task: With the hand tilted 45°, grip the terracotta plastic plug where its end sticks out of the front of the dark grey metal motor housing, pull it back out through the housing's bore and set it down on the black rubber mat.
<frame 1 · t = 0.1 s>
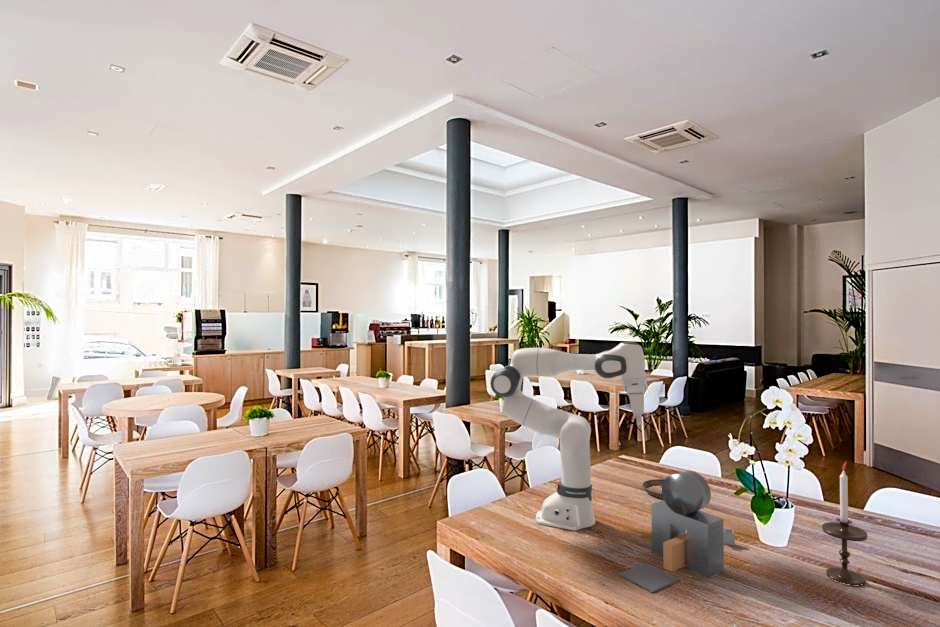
hand: (639, 422, 188), 39 cm above the table, tool pointing down, fingers open, 8 cm apart
mat: (648, 577, 152), on the table
plant saucer: (666, 493, 225), on the table
plug: (679, 564, 160), on the table
housing: (686, 561, 162), on the table
lighter: (723, 543, 175), on the table
candlestick: (844, 579, 151), on the table
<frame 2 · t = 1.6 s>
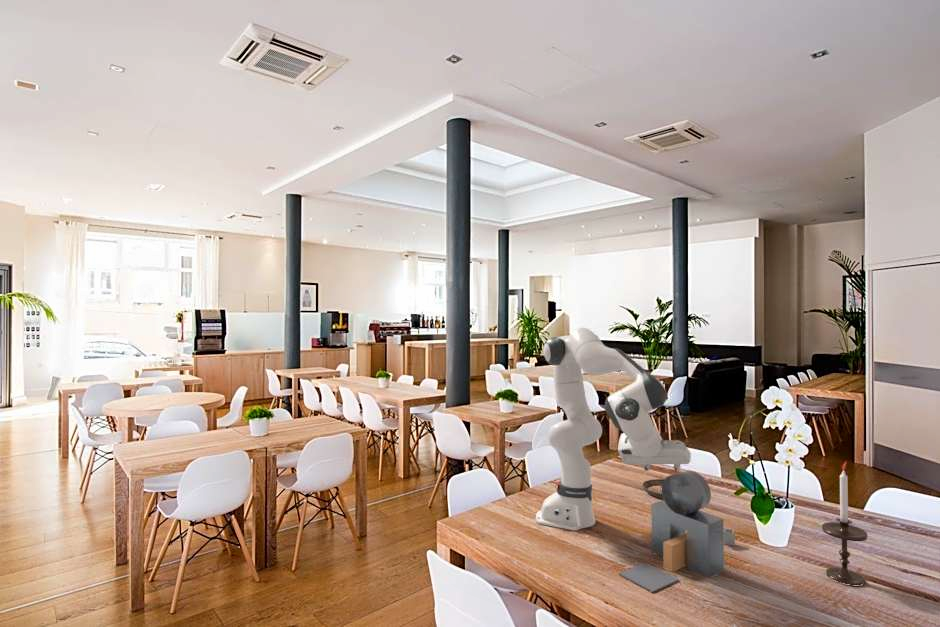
hand: (662, 468, 158), 31 cm above the table, tool tilted 45°, fingers open, 8 cm apart
nothing on the table moved.
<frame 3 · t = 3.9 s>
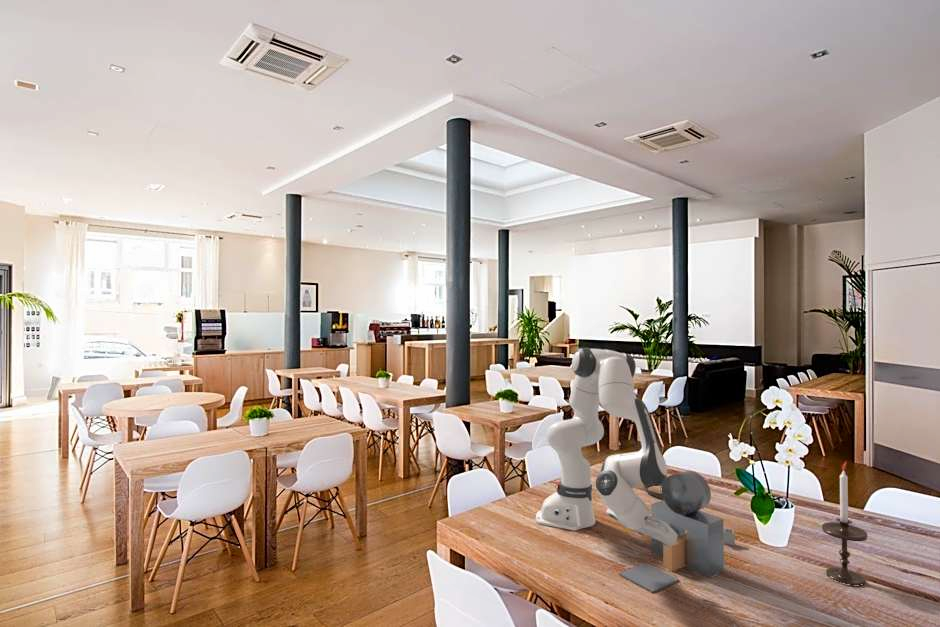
hand: (654, 538, 154), 11 cm above the table, tool tilted 45°, fingers open, 8 cm apart
nothing on the table moved.
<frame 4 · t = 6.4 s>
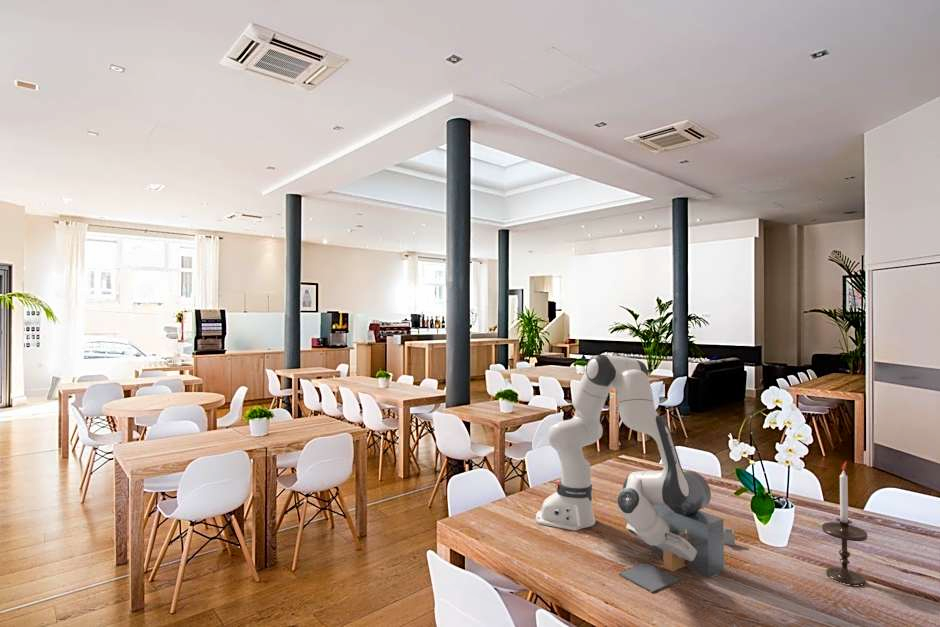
hand: (673, 553, 158), 4 cm above the table, tool tilted 45°, fingers closed on plug, 3 cm apart
plug: (679, 564, 160), on the table, touching gripper
everything else where it was.
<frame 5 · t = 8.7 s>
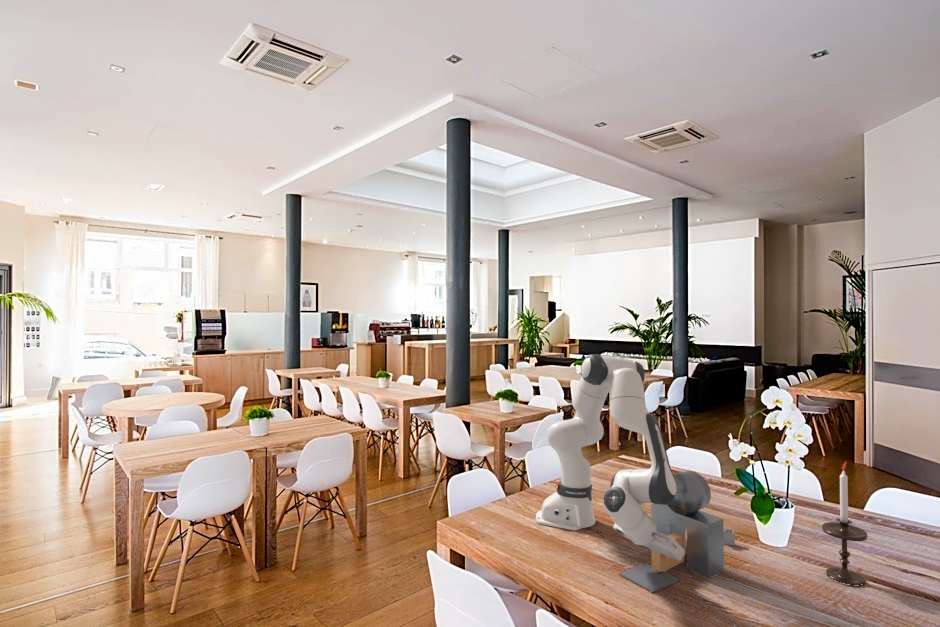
hand: (661, 552, 155), 6 cm above the table, tool tilted 45°, fingers closed on plug, 3 cm apart
plug: (668, 564, 157), point 2 cm above the table, touching gripper
everything else where it was.
when the fingers open (6 cm above the table, at t = 11.4 s): plug stays where it is, resting on mat.
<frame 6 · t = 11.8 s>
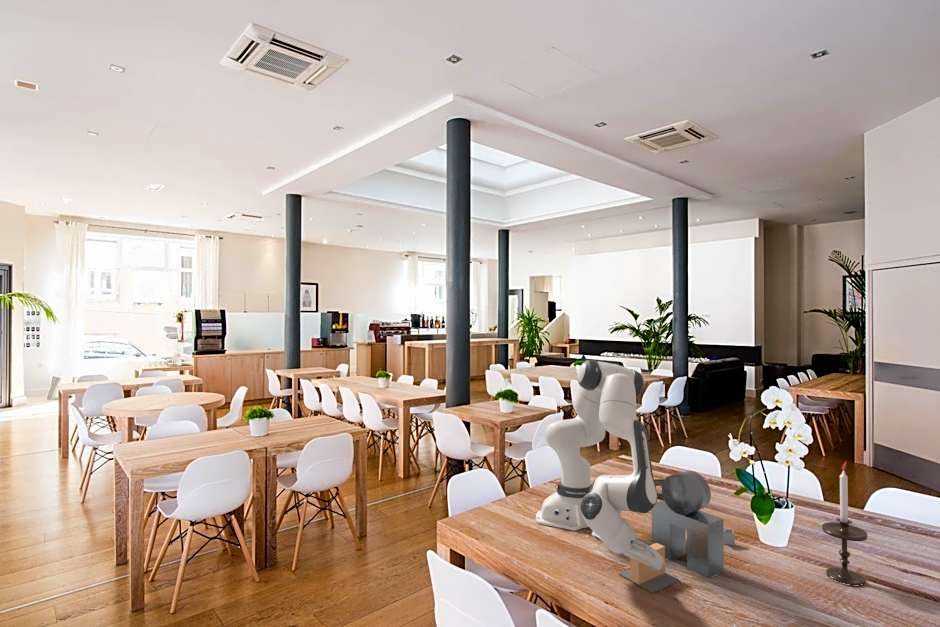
hand: (641, 561, 150), 6 cm above the table, tool tilted 45°, fingers open, 7 cm apart
plug: (648, 576, 152), resting on mat
everything else where it was.
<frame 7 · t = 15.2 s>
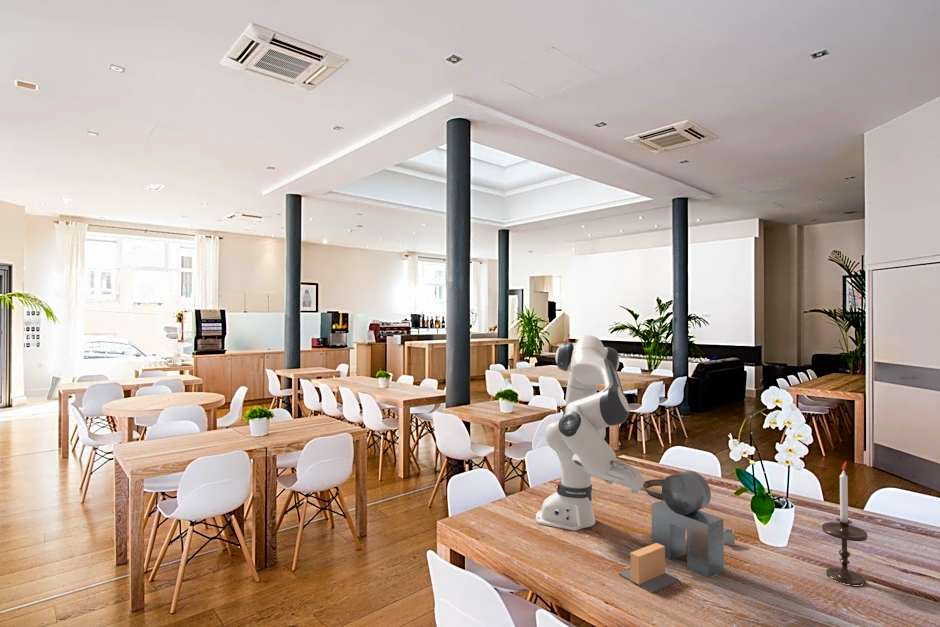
hand: (622, 486, 146), 29 cm above the table, tool tilted 45°, fingers open, 8 cm apart
nothing on the table moved.
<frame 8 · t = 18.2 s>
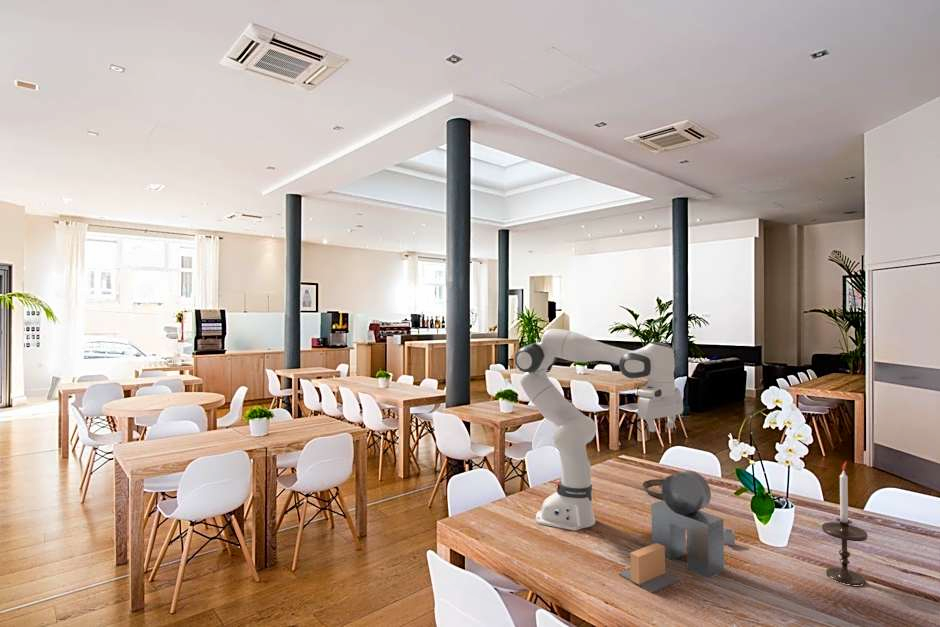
hand: (661, 429, 175), 39 cm above the table, tool pointing down, fingers open, 8 cm apart
nothing on the table moved.
at the end: plug inside the target area on the mat (0.2 cm from its centre), point 0.5 cm above the mat's base; plug tilted 0°; the gripper is holding nothing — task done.
